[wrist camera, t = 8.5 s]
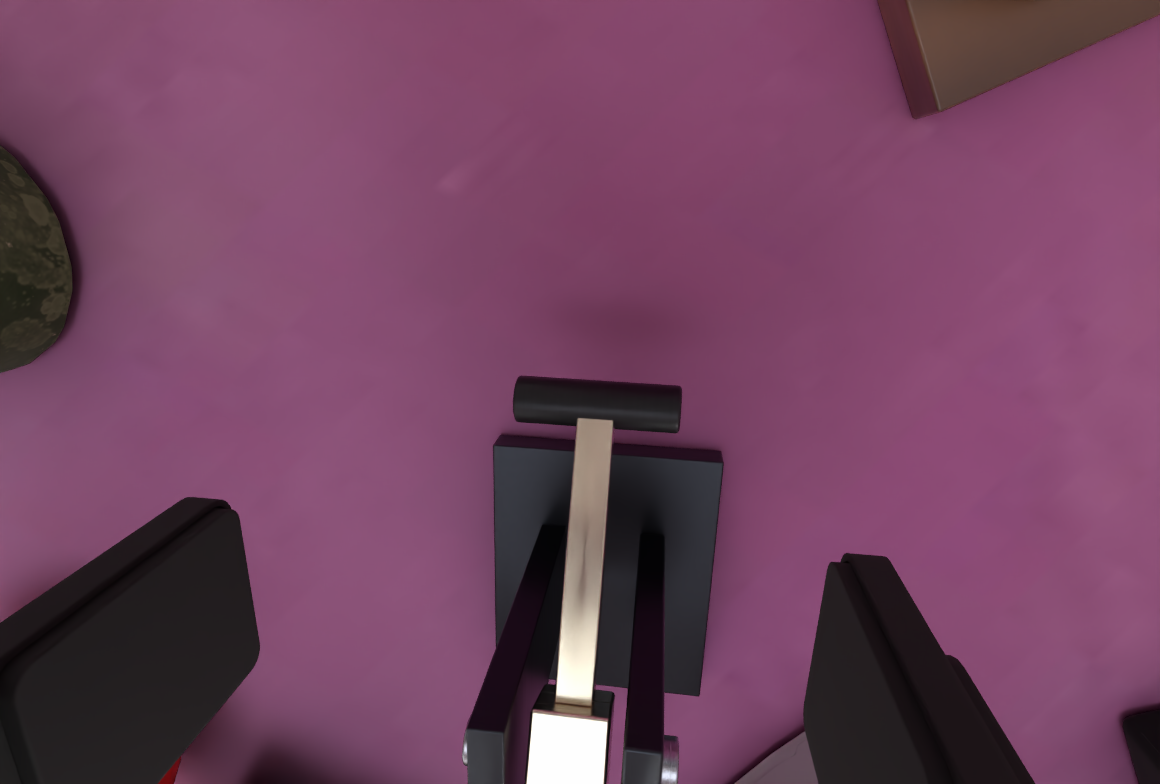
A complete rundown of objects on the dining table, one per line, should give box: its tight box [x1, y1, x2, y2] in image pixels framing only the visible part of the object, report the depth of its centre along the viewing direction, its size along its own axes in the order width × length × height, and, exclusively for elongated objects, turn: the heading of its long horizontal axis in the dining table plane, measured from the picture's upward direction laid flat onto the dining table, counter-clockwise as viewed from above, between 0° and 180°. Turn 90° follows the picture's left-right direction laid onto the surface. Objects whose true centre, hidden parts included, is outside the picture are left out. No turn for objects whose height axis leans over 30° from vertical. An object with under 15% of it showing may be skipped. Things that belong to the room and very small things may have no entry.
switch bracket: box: [462, 435, 724, 784], centre depth 22 cm, size 11×9×12 cm
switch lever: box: [513, 376, 682, 784], centre depth 19 cm, size 12×5×2 cm, turn 179°
